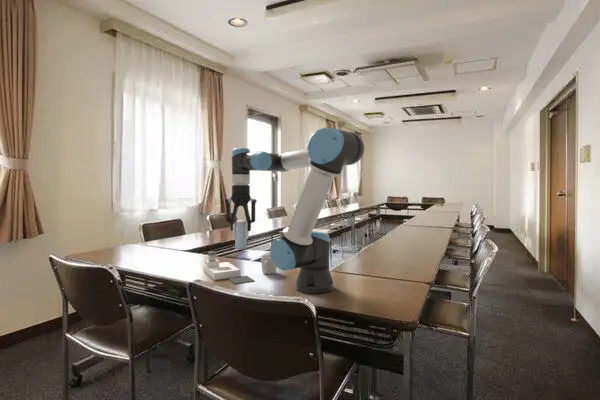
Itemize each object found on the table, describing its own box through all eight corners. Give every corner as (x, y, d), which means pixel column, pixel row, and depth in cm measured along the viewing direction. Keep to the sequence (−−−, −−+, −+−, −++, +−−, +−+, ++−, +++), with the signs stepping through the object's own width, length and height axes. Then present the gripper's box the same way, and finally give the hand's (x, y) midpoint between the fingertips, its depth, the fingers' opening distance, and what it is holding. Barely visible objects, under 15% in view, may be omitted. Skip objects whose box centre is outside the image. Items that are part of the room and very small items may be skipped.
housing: (240, 276, 157) (240, 264, 157) (214, 279, 151) (214, 267, 151) (227, 267, 173) (227, 256, 172) (203, 270, 167) (203, 259, 166)
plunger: (217, 264, 163) (217, 252, 163) (209, 265, 162) (209, 253, 161) (214, 263, 166) (214, 251, 166) (207, 264, 165) (207, 252, 164)
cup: (273, 277, 156) (273, 259, 155) (256, 276, 157) (256, 258, 157) (279, 271, 166) (279, 255, 166) (263, 270, 168) (263, 254, 168)
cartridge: (244, 249, 148) (244, 221, 147) (233, 249, 148) (233, 221, 148) (247, 247, 152) (247, 220, 152) (236, 247, 153) (236, 219, 152)
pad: (254, 281, 149) (254, 280, 149) (234, 284, 145) (234, 283, 145) (246, 276, 157) (246, 275, 157) (227, 279, 153) (227, 278, 152)
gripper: (263, 184, 152) (262, 237, 153) (223, 184, 153) (223, 236, 155) (259, 184, 144) (259, 240, 146) (217, 184, 146) (217, 239, 147)
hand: (240, 238), depth 150 cm, fingers closed on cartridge, 5 cm apart
